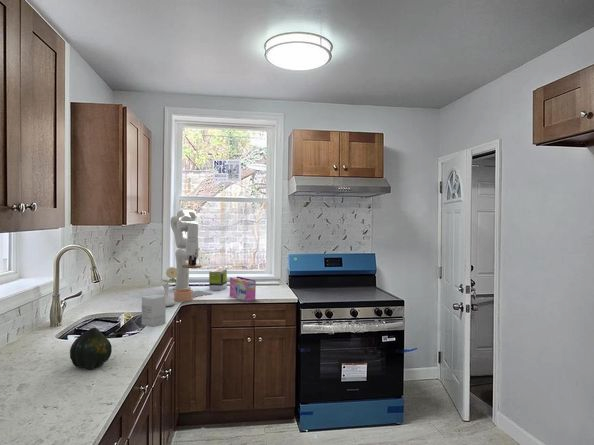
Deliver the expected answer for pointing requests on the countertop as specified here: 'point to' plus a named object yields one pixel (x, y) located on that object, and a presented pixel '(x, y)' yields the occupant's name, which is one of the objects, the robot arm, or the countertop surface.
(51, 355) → the countertop surface
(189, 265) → the lid
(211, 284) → the tea box
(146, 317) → the grey canister
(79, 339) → the squash
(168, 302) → the flower in vase
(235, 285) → the gum box
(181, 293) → the bowl
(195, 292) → the mat
